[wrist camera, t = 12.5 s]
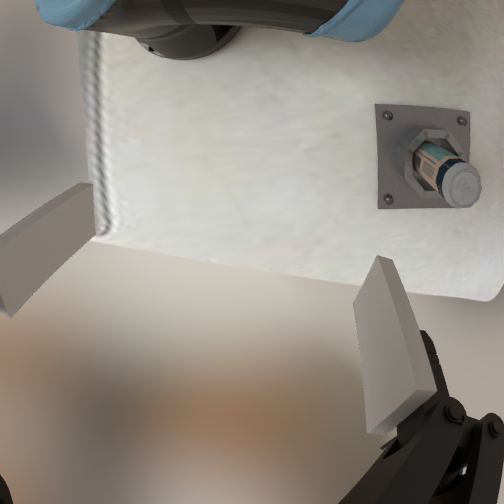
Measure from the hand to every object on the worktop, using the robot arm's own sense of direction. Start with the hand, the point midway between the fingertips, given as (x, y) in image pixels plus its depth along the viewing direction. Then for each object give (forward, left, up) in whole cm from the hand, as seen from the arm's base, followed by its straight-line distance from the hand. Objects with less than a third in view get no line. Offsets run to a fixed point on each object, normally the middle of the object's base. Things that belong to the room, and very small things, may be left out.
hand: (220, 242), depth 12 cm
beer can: (+3, +20, -26) cm, 33 cm away
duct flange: (+3, +20, -27) cm, 33 cm away
